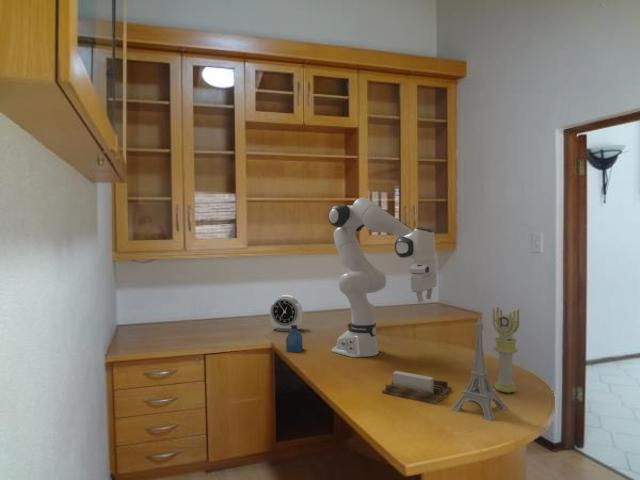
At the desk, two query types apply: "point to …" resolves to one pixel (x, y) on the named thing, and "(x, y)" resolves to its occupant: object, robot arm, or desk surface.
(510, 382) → the trophy
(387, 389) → the rack
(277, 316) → the alarm clock
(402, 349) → the desk surface
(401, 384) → the gray rectangular block
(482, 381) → the eiffel tower
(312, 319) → the desk surface
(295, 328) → the perfume bottle
